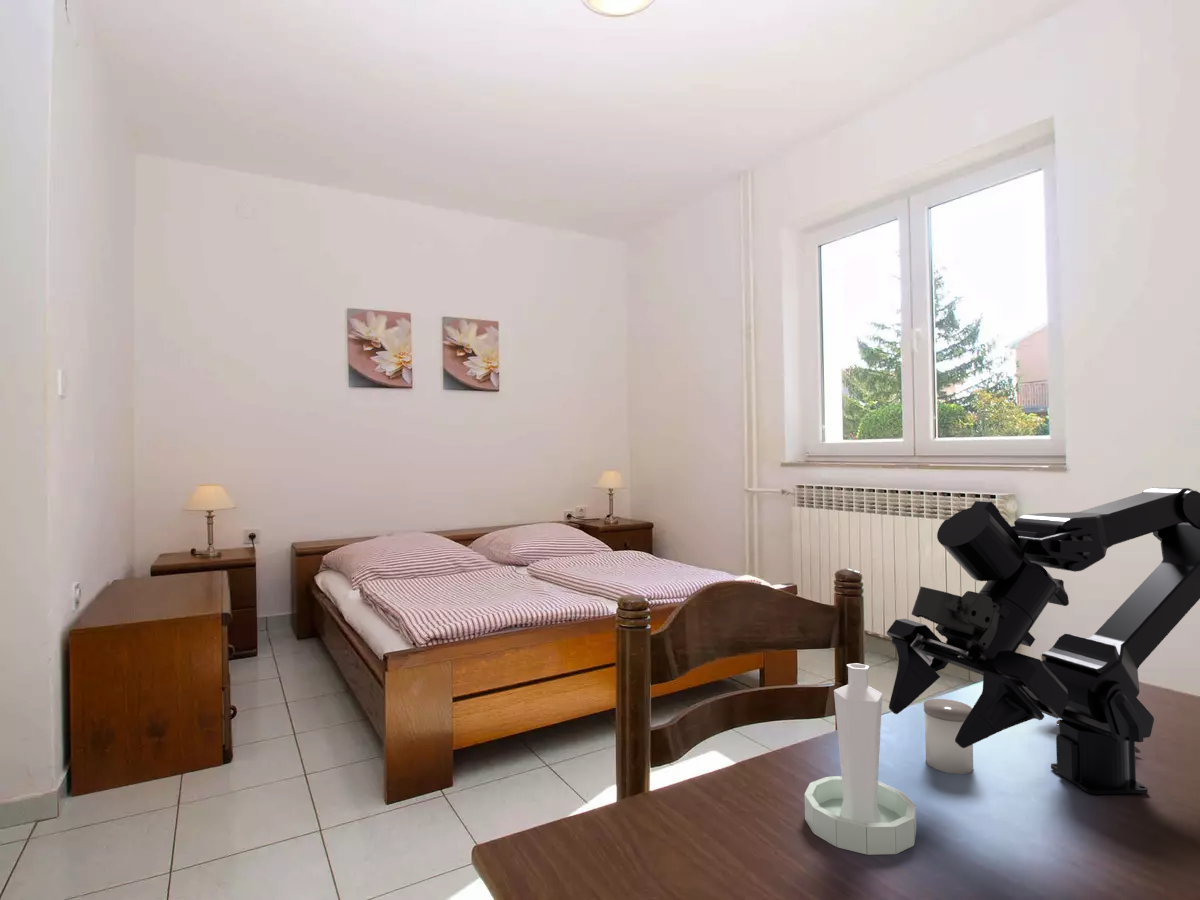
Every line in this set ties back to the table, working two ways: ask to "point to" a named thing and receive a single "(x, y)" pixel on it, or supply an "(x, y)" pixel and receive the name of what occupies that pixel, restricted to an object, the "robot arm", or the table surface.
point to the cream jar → (946, 736)
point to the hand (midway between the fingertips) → (923, 727)
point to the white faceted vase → (859, 744)
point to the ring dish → (858, 836)
